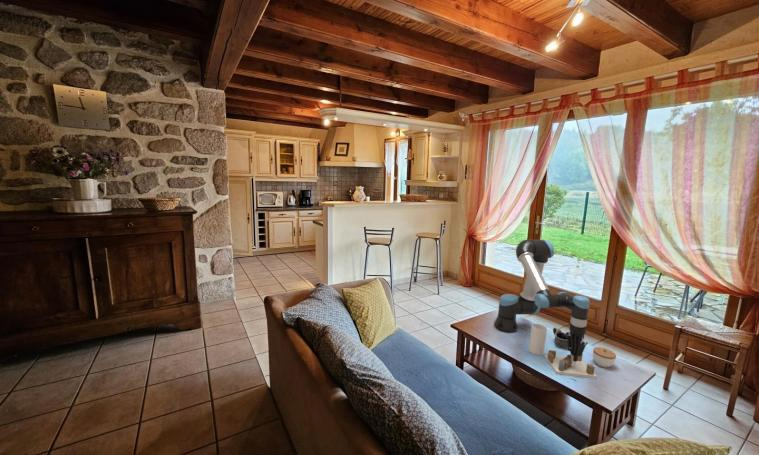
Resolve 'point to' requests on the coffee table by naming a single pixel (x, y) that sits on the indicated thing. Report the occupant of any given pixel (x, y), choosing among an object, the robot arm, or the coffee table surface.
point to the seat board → (578, 370)
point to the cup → (537, 339)
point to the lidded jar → (603, 357)
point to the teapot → (560, 338)
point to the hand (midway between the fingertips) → (572, 365)
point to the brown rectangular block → (567, 361)
